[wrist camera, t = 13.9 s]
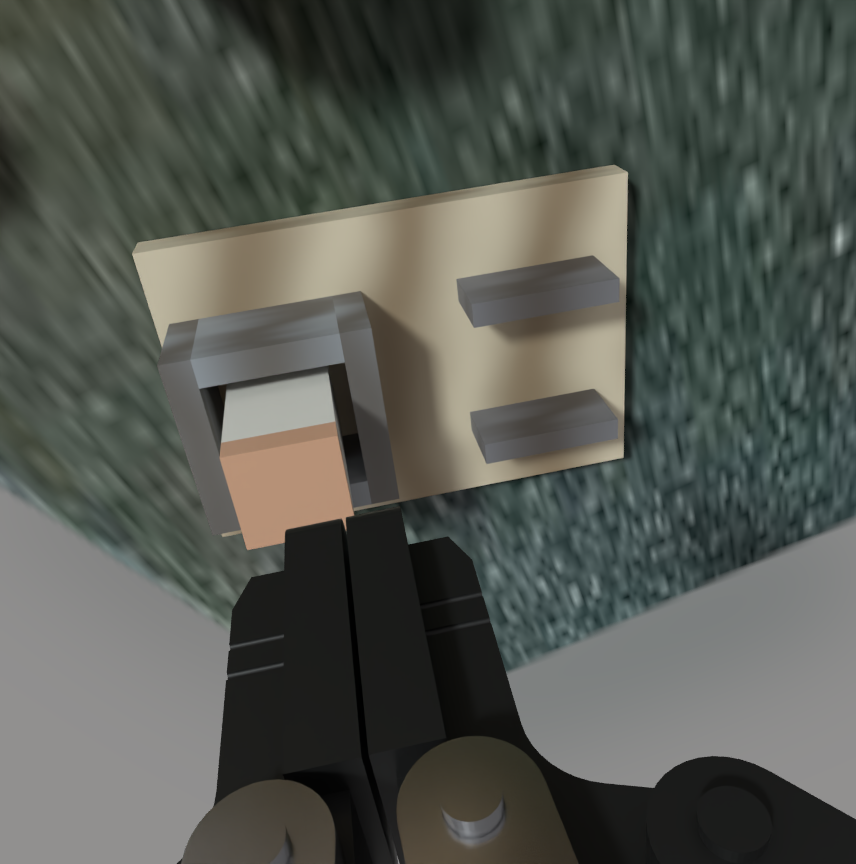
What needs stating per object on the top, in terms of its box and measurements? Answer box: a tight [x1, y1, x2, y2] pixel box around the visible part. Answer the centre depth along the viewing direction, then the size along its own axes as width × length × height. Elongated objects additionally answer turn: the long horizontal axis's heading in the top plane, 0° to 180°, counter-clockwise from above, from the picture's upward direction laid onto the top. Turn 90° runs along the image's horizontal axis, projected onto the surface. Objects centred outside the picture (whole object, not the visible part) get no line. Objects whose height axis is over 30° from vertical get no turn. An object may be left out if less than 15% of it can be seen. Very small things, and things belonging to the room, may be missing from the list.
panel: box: [132, 165, 628, 537], centre depth 34 cm, size 20×14×6 cm
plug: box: [220, 366, 354, 550], centre depth 31 cm, size 4×4×8 cm
